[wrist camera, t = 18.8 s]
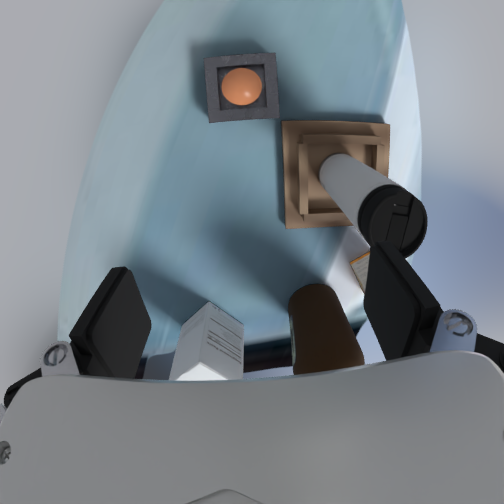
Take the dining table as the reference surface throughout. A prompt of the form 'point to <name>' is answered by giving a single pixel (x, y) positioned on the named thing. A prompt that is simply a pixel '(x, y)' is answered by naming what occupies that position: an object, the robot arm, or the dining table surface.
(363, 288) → the supplement box
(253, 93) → the button
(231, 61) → the button housing
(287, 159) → the tan flat square tray
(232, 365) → the supplement box
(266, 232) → the dining table surface
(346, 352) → the olive oil
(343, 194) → the travel mug
